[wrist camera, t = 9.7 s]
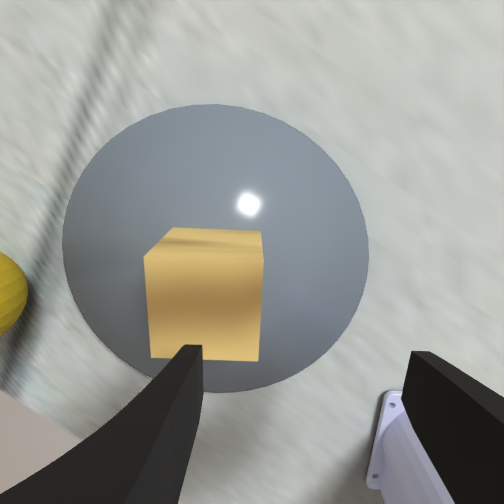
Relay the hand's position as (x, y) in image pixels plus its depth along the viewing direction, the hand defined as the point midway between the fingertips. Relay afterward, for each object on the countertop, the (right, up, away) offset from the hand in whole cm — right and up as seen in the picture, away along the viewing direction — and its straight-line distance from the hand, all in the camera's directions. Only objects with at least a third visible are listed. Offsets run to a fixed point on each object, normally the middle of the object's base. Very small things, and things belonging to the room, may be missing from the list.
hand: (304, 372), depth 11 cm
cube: (-4, +3, +8) cm, 9 cm away
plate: (-4, +3, +9) cm, 10 cm away
